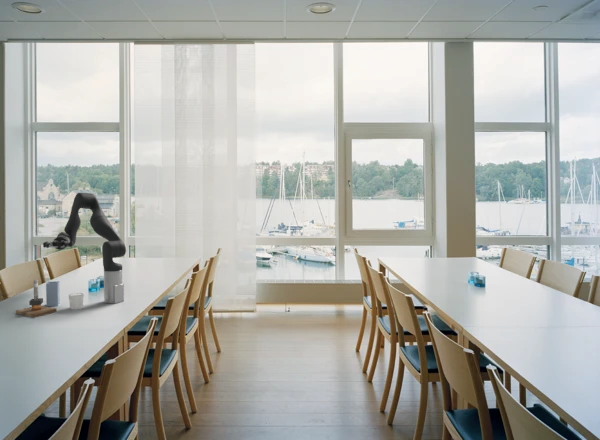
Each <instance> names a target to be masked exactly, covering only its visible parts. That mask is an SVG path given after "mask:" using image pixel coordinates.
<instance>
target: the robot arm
mask: <svg viewBox="0 0 600 440" xmlns="http://www.w3.org/2000/svg"><path fill="white" fill-rule="evenodd" d="M81 209H84V210H85V209H87V210H90V211H91V213H92V214H91V216H90V220H89V224H90V226H91V228H92V230H93V231H94V232H95V234H97V235H98V236H100V237H102V238H104V239H105V240H107V241H104V242H103V244H102V246H101V251H102V266H103V298H104V300H103V302H104V303H105V304H118V303H122V302H124V301H125V288H124V287H125V284H124V283H123V264H121V263H118V262H114V260H113V259H115V258H121V257H124V256H125V255H126V252H127V249H126V244H125V243H124V241H123V240H122V238H121V237H120V236H119V235H118V233H117V232H116V231H115V229H114V228H113V226H112V225H111V222H110V221H109V219H108V218H107V216H106V214H105V212H104V210H103V208H102V207H101V205H100V202H99V200H98V198H97V196H96V195H95V194H94V193H90V192H77V193H76V194H75V196H74V198H73V201H72V206H71V209H70V214H69V218H68V221H67V222H66V224H65V226H64V229H63V231H61V232H59V233H58V234H57V236H56V237H55V238H54V239H53V240H52V241H50V242H49V241H44V242H43V243H42V244H43V245H42V248H46V249H48V248H50V249H51V248H52V249H56V250H59V251H60V250H64V249H66V248H70V247H71V248H72V247H74V245H75V244H76V241H77V232H78V230H79V228H80V226H81V223H82V221H81V217H80V214H79V212H80V210H81Z"/></svg>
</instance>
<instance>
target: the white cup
mask: <svg viewBox="0 0 600 440" xmlns="http://www.w3.org/2000/svg"><path fill="white" fill-rule="evenodd" d="M84 296H85V294H84V293H83V292H77V293H76V292H75V293H70V294H69V295H68V301H69V309H71V310H79V309H82V308H83V307H84Z"/></svg>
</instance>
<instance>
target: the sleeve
mask: <svg viewBox="0 0 600 440" xmlns="http://www.w3.org/2000/svg"><path fill="white" fill-rule="evenodd" d="M60 294H61V293H60V281H59V280H58V281H56V280H55V281H48V282H46V284H45V295H46V296H45V298H46V307H49V308H50V307H58V306H59V305H60V303H61V302H60V300H61V299H60Z"/></svg>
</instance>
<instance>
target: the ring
mask: <svg viewBox="0 0 600 440" xmlns="http://www.w3.org/2000/svg"><path fill="white" fill-rule="evenodd" d="M28 302H29V304H28V305H29V306H32V305H41V306H42V304H43V303H44V298H43V297H40V298H39V297H38V300H34V298H31V299H30V300H28Z"/></svg>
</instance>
